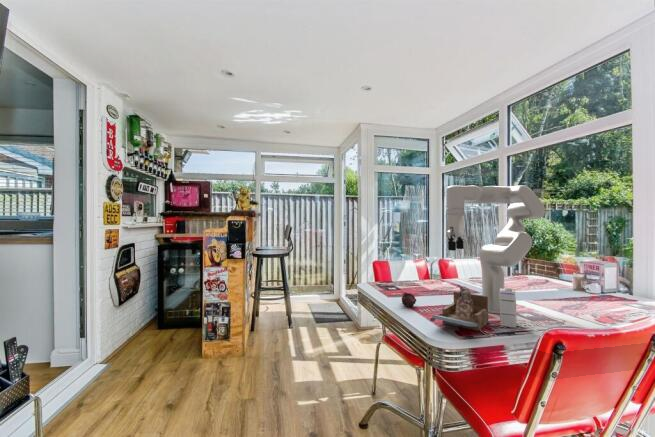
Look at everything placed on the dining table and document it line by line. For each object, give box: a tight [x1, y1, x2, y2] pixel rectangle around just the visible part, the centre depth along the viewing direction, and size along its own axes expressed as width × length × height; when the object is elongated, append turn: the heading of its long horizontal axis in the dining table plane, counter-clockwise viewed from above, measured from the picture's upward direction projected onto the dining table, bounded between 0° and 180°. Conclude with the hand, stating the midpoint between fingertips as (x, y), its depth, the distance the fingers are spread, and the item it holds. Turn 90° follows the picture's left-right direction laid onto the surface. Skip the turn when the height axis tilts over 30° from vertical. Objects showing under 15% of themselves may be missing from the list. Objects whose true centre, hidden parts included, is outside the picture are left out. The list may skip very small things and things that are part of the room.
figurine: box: [456, 286, 474, 319], centre depth 124 cm, size 7×7×12 cm
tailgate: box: [431, 314, 478, 327], centre depth 116 cm, size 2×14×10 cm
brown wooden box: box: [441, 291, 489, 332], centre depth 125 cm, size 14×14×11 cm
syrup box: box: [499, 288, 517, 329], centre depth 122 cm, size 6×6×14 cm
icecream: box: [401, 292, 417, 308], centre depth 150 cm, size 7×7×15 cm
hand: (456, 249), depth 134 cm, fingers open, 9 cm apart
